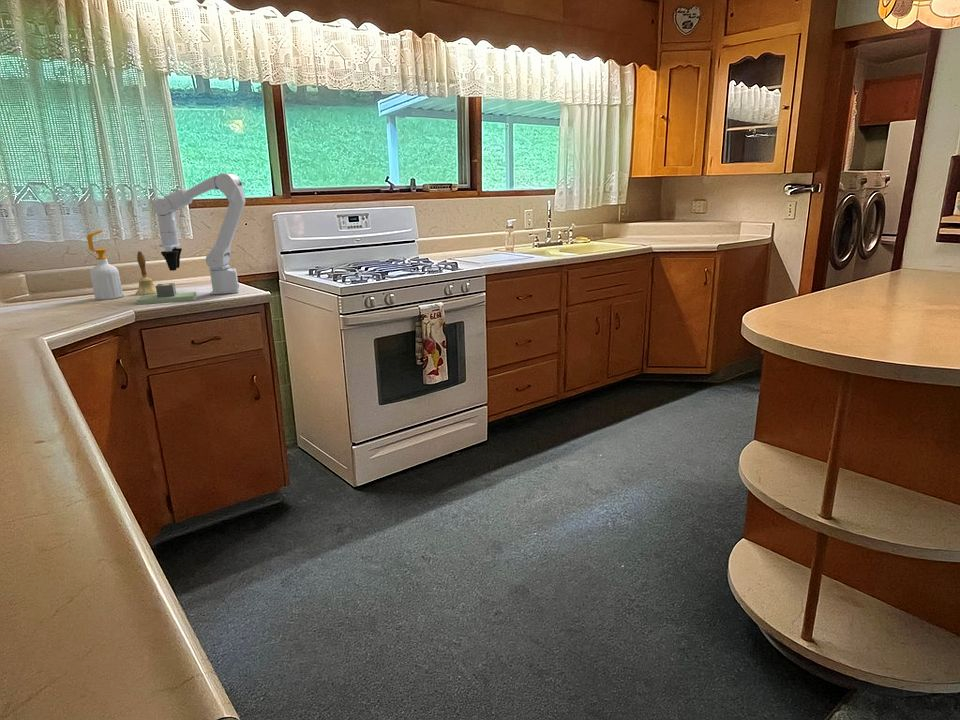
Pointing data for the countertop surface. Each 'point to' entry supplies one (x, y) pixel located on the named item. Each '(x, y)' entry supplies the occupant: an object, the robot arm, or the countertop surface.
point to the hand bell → (144, 278)
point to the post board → (178, 297)
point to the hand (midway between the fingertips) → (174, 269)
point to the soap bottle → (104, 275)
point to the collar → (166, 290)
